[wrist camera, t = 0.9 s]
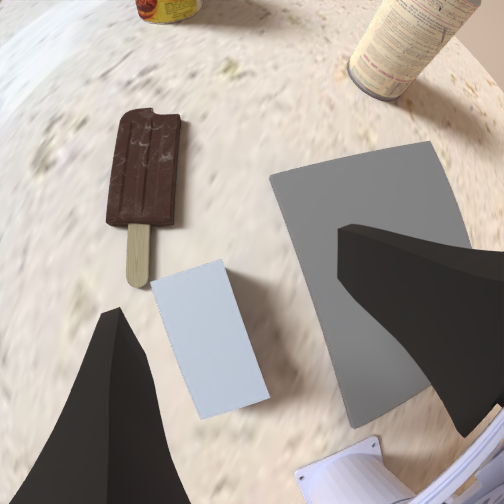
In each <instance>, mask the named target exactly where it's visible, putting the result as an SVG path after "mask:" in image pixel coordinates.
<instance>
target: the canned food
mask: <svg viewBox="0 0 504 504" xmlns="http://www.w3.org/2000/svg"><path fill="white" fill-rule="evenodd" d="M136 5H137V10H138V14H139V17H140V18H141V19H142V20H143V21H145V22H148V23H153V24H168V23H174V22H178V21H182V20H185V19H187V18H189V17H191V16H193V15H194V14H196V13H197V12H198V11H199V10H200V9H201V7H202V5H203V0H136Z"/></svg>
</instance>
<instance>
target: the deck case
mask: <svg viewBox="0 0 504 504" xmlns="http://www.w3.org/2000/svg"><path fill="white" fill-rule="evenodd" d="M150 283H151V287H152V290H153V293H154V296H155V299H156V303H157V306H158V309H159V312H160V315H161V318H162V321H163V324H164V327H165V330H166V333H167V335H168V338H169V341H170V344H171V347H172V349H173V352H174V355H175V357H176V360H177V363H178V365H179V368H180V371H181V373H182V376H183V378H184V381H185V383H186V386H187V388H188V391H189V393H190V395H191V398H192V400H193V403H194V405H195V407H196V410H197V412H198V414H199V416H200V419H201V420H202V419H205V418H209V417H212V416H216V415H219V414H223V413H226V412H229V411H233V410H236V409H239V408H242V407H245V406H248V405H251V404H254V403H257V402H260V401H263V400H266V399H268V398H270V396H269V393H268V390H267V387H266V385H265V382H264V379H263V377H262V374H261V371H260V368H259V366H258V363H257V360H256V357H255V354H254V352H253V349H252V346H251V343H250V340H249V337H248V335H247V332H246V329H245V326H244V323H243V320H242V317H241V314H240V312H239V309H238V306H237V303H236V300H235V297H234V294H233V291H232V288H231V285H230V282H229V279H228V276H227V273H226V270H225V267H224V264H223V261H222V259H219V260H216V261H213V262H210V263H207V264H204V265H201V266H198V267H195V268H192V269H189V270H186V271H182V272H179V273H176V274H173V275H170V276H167V277H164V278H161V279H158V280H155V281H152V282H150Z"/></svg>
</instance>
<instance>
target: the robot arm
mask: <svg viewBox="0 0 504 504" xmlns="http://www.w3.org/2000/svg"><path fill="white" fill-rule="evenodd" d="M337 279H338V280H339V281H340V282H341V284H342V285H343V286H344V288H345V289H346V290H347V291H348V293H349V294H350V295H351V296H352V297H353V299H354V300H355V301H356V302H357V303H358V304H359V305H361V306H362V307H363V308H364V309H365V310H366V311H367V312H368V313H369V314H370V315H371V316H372V317H373V318H374V319H375V320H376V321H377V322H379V323H380V324H381V325H382V326H383V327H384V328H385V329H386V330H387V331H388V332H389V333H390V334H391V335H392V336H393V337H394V338H395V339H396V340H397V341H398V342H399V343H400V344H401V345H402V346H403V347H404V348H405V350H406V351H407V352H408V353H409V355H410V356H411V357H412V358H413V360H414V361H415V362H416V363H417V365H418V366H419V367H420V369H421V370H422V371H423V373H424V374H425V376H426V377H427V378H428V380H429V381H430V383H431V384H432V386H433V387H434V389H435V391H436V392H437V394H438V395H439V397H440V399H441V400H442V402H443V404H444V405H445V407H446V409H447V411H448V413H449V415H450V417H451V419H452V421H453V423H454V425H455V427H456V429H457V431H458V432H459V433H460V434H461V435H462V436H463V437H464V438H466V437H467V436H468V435H469V434H470V433H471V432H472V430H473V429H474V428H475V427H476V426H477V425H478V424H479V423H480V422H481V421H482V420H483V419H484V418H485V417H486V415H487V414H488V413H489V412H490V411H491V410H492V409H493V407H494V406H495V405H496V404H497V403H498V404H499V405H500V406H501V407H502V409H501V410H500V411H499V413H498V414H497V415H496V416H495V418H494V419H493V420H492V421H491V422H490V424H489V425H488V426H487V427H486V428H485V429H484V431H483V432H482V433H481V434H480V435H479V436H478V437H477V438H476V440H475V441H474V442H473V443H472V444H471V445H470V446H469V447H468V448H467V449H466V450H465V451H464V452H463V453H462V454H461V455H460V456H459V457H458V458H457V459H456V460H455V461H454V462H453V463H452V464H451V465H450V466H449V467H448V468H447V469H446V470H445V471H444V472H442V473H441V474H440V475H439V476H438V477H437V478H436V479H435V480H433V481H432V482H431V483H430V484H429V485H428V486H426V487H425V488H424V489H423V490H422V491H420V492H419V493H418V494H417V495H416V494H415V493H414V492H413V491H411V490H410V489H409V488H408V487H407V486H406V485H405V484H403V483H402V482H401V481H400V480H399V479H398V478H397V477H396V476H394V475H393V474H392V473H391V472H390V471H389V470H388V469H387V468H386V467H385V466H384V463H383V458H382V454H381V449H380V444H379V440H378V437H376V436H375V435H373V436H370V437H368V438H366V439H365V440H363V441H361V442H359V443H357V444H355V445H353V446H351V447H348V448H346V449H344V450H342V451H340V452H338V453H336V454H333V455H331V456H329V457H327V458H324V459H322V460H320V461H317V462H315V463H312V464H310V465H307V466H305V467H302V468H300V469H297V470H296V471H295V472H294V475H295V478H296V480H297V483H298V485H299V487H300V490H301V492H302V494H303V497H304V499H305V502H306V504H504V441H503V442H502V443H501V444H500V445H499V446H498V444H499V443H500V442H501V441H502V439H503V438H504V252H499V251H486V250H476V249H469V248H462V247H456V246H450V245H445V244H440V243H436V242H431V241H427V240H423V239H419V238H414V237H410V236H407V235H403V234H399V233H395V232H391V231H387V230H383V229H378V228H374V227H370V226H365V225H359V224H349V225H346V226H344V227H341V228H338V253H337ZM374 443H375V445H373V444H374ZM372 445H373V446H372ZM497 446H498V447H497ZM496 447H497V448H496ZM495 448H496V449H495ZM494 449H495V450H494ZM493 450H494V451H493ZM480 465H481V466H480ZM479 466H480V467H479ZM478 468H479V469H478ZM477 469H478V470H477ZM476 470H477V472H476V473H475V478H476V479H477V480H476V481H475V482H474V483H473V484H472V485H471V486H470V487H468V488H467V489H466V490H465V491H464V492H463V493H462V494H461V495H460V496H459V495H457V494H454V492H455V491H456V490H457V489H458V488H459V487H460V486H461V485H462V484H463V483H464V482H465V481H466V480H467V479H468V478H469V477H470V476H471V475H472V474H473V473H474V472H475V471H476ZM302 476H304V477H303V478H301V479H300V477H302ZM9 504H191V503H190V501H189V498H188V496H187V494H186V492H185V490H184V488H183V485H182V483H181V481H180V478H179V476H178V473H177V471H176V468H175V466H174V463H173V461H172V458H171V455H170V452H169V448H168V445H167V441H166V437H165V433H164V428H163V424H162V419H161V415H160V410H159V405H158V400H157V395H156V390H155V385H154V381H153V377H152V374H151V370H150V367H149V364H148V360H147V357H146V354H145V352H144V350H143V349H142V347H141V345H140V343H139V342H138V340H137V338H136V336H135V334H134V333H133V331H132V329H131V327H130V325H129V323H128V322H127V320H126V318H125V316H124V314H123V312H122V310H121V308H120V307H119V308H116V309H113V310H110V311H107V312H104V313H102V314H101V316H100V318H99V320H98V323H97V325H96V328H95V330H94V333H93V336H92V338H91V341H90V343H89V346H88V349H87V351H86V354H85V357H84V359H83V362H82V364H81V367H80V370H79V372H78V375H77V377H76V380H75V382H74V384H73V387H72V389H71V392H70V394H69V397H68V399H67V401H66V404H65V406H64V408H63V410H62V412H61V415H60V417H59V419H58V421H57V423H56V425H55V427H54V429H53V431H52V433H51V435H50V437H49V439H48V441H47V442H46V444H45V446H44V448H43V449H42V451H41V453H40V455H39V457H38V459H37V461H36V462H35V464H34V466H33V468H32V469H31V471H30V472H29V474H28V476H27V477H26V479H25V481H24V482H23V484H22V485H21V487H20V488H19V490H18V491H17V493H16V494H15V496H14V497H13V499H12V500H11V502H10V503H9Z"/></svg>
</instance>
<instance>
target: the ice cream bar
mask: <svg viewBox="0 0 504 504" xmlns="http://www.w3.org/2000/svg"><path fill="white" fill-rule="evenodd" d="M180 125H181V119H180V115H179V114H167V115H159V114H155V113H154V112H153V109H152V108H142V109H135V110H131V111H129V112H127V113H125V114H124V115H123V117H122V118H121V120H120V124H119V129H118V134H117V139H116V145H115V151H114V157H113V164H112V170H111V178H110V185H109V194H108V203H107V213H106V223H107V224H108V225H110V226H128V239H127V264H126V278H127V281H128V283H129V284H130V285H131V286H132V287H135V288H141V287H143V286H145V285H146V284H147V282H148V280H149V254H150V228H151V226H167V225H174V204H175V186H176V171H177V158H178V146H179V135H180Z"/></svg>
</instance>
